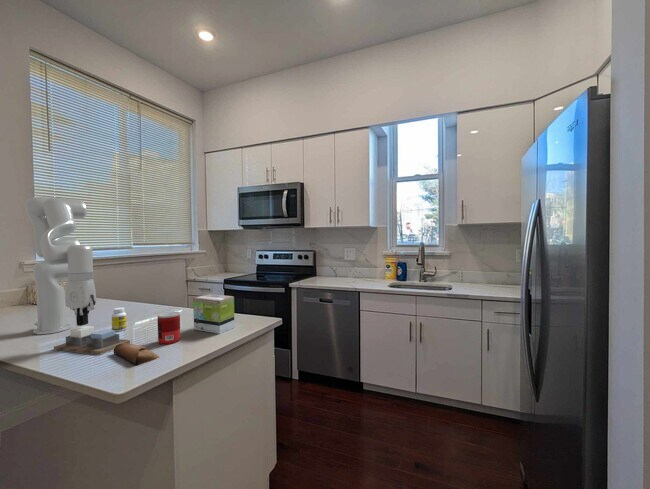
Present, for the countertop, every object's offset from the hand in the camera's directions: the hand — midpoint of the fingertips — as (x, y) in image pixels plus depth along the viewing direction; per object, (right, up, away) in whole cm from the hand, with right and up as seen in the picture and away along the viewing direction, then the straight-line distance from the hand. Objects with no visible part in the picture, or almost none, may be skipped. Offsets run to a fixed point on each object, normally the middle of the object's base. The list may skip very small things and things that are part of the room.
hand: (82, 324), depth 116 cm
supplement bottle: (+1, -8, +20) cm, 21 cm away
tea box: (+44, -7, +19) cm, 48 cm away
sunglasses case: (+28, -9, -11) cm, 31 cm away
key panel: (+5, -8, -1) cm, 9 cm away
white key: (0, -5, 0) cm, 5 cm away
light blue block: (+10, -6, -2) cm, 11 cm away
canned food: (+32, -8, +3) cm, 33 cm away
